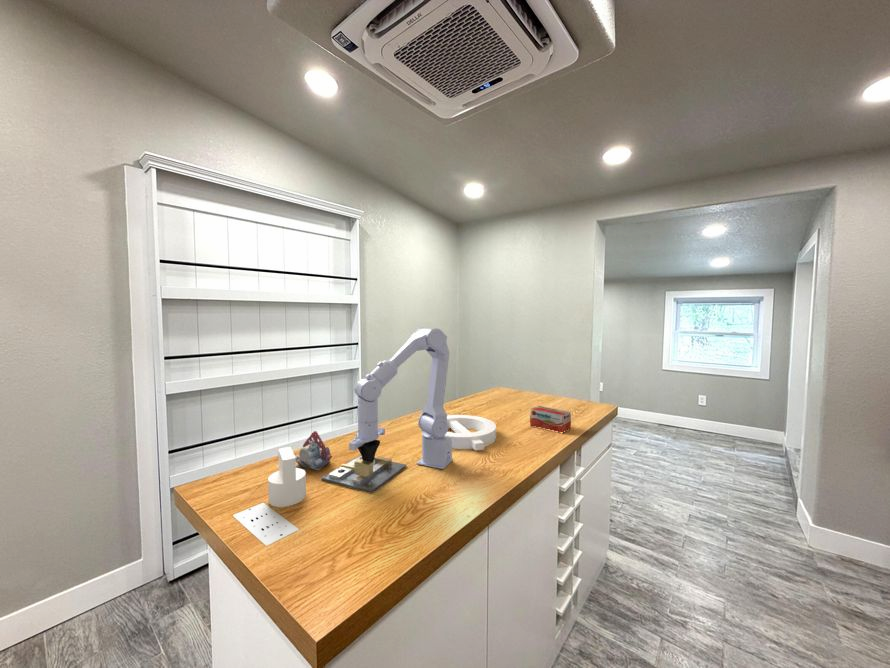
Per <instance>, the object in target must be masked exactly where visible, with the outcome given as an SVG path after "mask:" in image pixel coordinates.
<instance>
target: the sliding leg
mask: <svg viewBox="0 0 890 668" xmlns="http://www.w3.org/2000/svg"><path fill="white" fill-rule="evenodd" d="M340 467H343V468H348V469H352V470H354V471H355V474H356V475H360V476H364V477H368V478H369V477H370V476H372V475H373V462H370V461H365V460H361V459H358V460H356V461H355V462H354V466H350V465H346V463H342V464H341V465H340Z"/></svg>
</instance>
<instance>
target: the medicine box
mask: <svg viewBox="0 0 890 668" xmlns="http://www.w3.org/2000/svg"><path fill="white" fill-rule="evenodd" d="M529 417H530V418H529V423H530V424H529V425H530V427H532V426H536V427H541V428H545V429H550V430H554V431H558V432H564V431H566V430H568V429H569V428H570V429H571V427H572V425H571V424H572V414H571V411H568V410H564V409H558V408H553V407H547V406H542V405H537V406H535V407H531V408H530V415H529ZM536 427H535V428H536ZM568 431H569V430H568ZM566 432H567V431H566ZM564 433H565V432H564Z"/></svg>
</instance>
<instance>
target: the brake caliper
mask: <svg viewBox="0 0 890 668" xmlns="http://www.w3.org/2000/svg"><path fill="white" fill-rule="evenodd" d="M295 457H296V468H298V467H302V468H303V467H304V468H308V469H312V470H315V471H318V470H320V469H323V468H324V466H326V465H328V464H329V463H330V461H331V459H332V458H333V455H332V454H331V450H330V447H329V446H326V445H325V444H324V442H323V440H322V438H321V436H320V434H319V433H318V431H316V430H314V431H312V433H311V434H310V435H309V436H308V438H307V439H306V440H305V442H303V445H302V448H300V449H299V453H298V454H297V455H295Z"/></svg>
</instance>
